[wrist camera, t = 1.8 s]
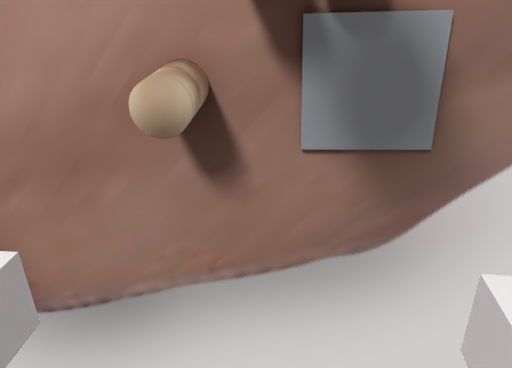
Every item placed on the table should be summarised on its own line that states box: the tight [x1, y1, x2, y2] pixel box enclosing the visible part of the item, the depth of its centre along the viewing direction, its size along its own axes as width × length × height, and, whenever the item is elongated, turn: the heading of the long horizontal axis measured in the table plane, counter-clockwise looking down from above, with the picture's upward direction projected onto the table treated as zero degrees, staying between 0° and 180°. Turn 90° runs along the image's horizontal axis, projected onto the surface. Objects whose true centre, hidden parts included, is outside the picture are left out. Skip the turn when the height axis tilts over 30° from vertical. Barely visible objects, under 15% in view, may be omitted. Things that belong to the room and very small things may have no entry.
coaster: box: [301, 9, 454, 150], centre depth 34 cm, size 11×11×1 cm
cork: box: [129, 59, 209, 139], centre depth 33 cm, size 4×4×7 cm
